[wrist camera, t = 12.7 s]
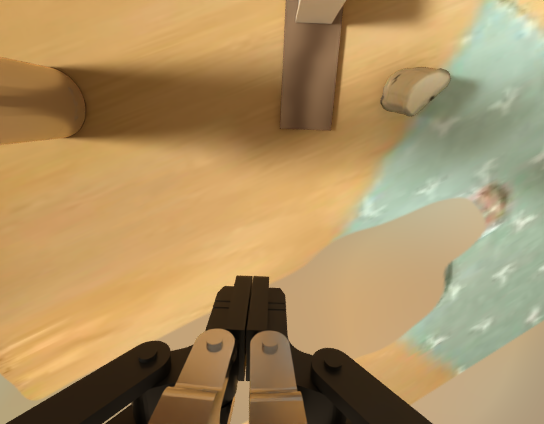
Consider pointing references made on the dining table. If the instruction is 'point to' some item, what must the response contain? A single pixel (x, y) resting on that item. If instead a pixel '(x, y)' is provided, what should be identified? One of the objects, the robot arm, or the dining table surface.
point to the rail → (309, 71)
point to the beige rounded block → (413, 89)
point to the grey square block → (318, 11)
